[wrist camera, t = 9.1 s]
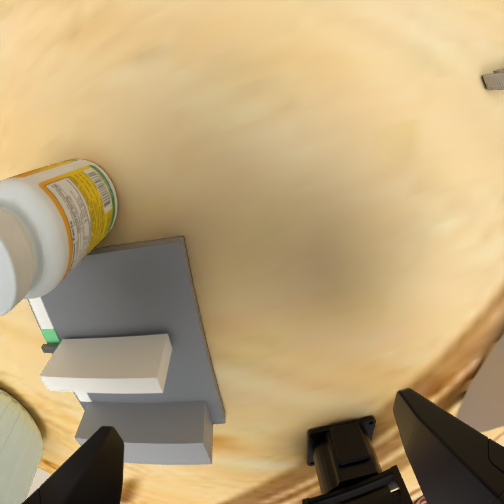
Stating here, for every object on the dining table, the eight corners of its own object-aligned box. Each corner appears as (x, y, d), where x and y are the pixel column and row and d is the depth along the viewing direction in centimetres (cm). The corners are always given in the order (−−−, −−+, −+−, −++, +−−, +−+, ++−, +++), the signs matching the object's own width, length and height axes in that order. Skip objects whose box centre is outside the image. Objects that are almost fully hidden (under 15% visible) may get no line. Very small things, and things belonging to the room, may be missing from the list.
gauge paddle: (172, 348, 20) (163, 392, 16) (48, 352, 19) (26, 387, 16) (167, 333, 19) (156, 377, 15) (41, 339, 19) (18, 374, 15)
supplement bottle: (131, 175, 17) (41, 229, 8) (106, 257, 18) (31, 355, 10) (55, 146, 16) (-61, 176, 7) (37, 225, 17) (-60, 297, 8)
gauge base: (225, 414, 24) (225, 463, 19) (96, 415, 24) (81, 457, 19) (183, 236, 18) (167, 274, 14) (22, 260, 18) (-18, 294, 13)
